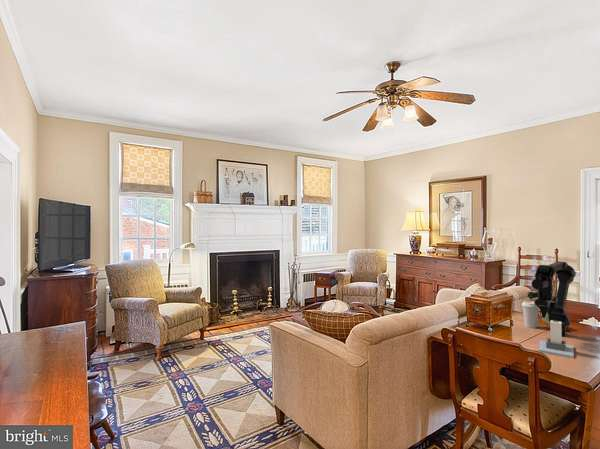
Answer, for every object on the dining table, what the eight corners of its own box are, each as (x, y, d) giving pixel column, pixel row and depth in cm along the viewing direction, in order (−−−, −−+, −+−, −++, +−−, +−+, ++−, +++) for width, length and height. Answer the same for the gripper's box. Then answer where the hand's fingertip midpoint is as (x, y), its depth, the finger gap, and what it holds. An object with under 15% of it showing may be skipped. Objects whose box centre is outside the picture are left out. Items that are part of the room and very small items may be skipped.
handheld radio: (546, 320, 229) (572, 332, 205) (541, 320, 230) (566, 332, 205) (546, 310, 230) (571, 321, 205) (540, 310, 230) (565, 321, 205)
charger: (550, 345, 180) (550, 319, 180) (561, 347, 177) (561, 321, 177) (550, 347, 177) (550, 321, 177) (561, 349, 174) (561, 323, 174)
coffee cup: (539, 325, 218) (539, 301, 218) (540, 329, 210) (540, 304, 210) (521, 323, 223) (521, 300, 223) (521, 327, 215) (521, 303, 215)
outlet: (540, 341, 188) (540, 334, 188) (573, 347, 180) (573, 339, 180) (538, 351, 174) (538, 343, 174) (573, 358, 166) (573, 349, 166)
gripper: (535, 284, 204) (535, 310, 204) (523, 287, 192) (523, 316, 192) (558, 286, 195) (558, 314, 196) (547, 290, 184) (547, 320, 184)
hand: (546, 316), depth 192 cm, fingers open, 9 cm apart
